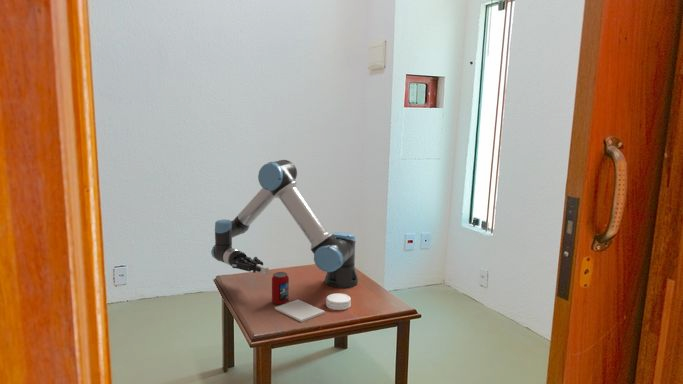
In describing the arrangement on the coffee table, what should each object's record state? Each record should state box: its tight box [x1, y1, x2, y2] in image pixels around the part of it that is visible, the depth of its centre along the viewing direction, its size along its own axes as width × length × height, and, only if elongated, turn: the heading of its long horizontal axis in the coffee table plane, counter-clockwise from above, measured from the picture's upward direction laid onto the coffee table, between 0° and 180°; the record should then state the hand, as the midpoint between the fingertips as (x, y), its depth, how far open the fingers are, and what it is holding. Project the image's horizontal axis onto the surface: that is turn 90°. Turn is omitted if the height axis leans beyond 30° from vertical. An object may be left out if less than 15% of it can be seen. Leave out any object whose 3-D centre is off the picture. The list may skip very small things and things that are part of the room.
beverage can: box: [271, 271, 290, 306], centre depth 197 cm, size 7×7×12 cm
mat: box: [274, 299, 326, 323], centre depth 190 cm, size 16×12×1 cm
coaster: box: [325, 293, 352, 311], centre depth 196 cm, size 10×10×4 cm
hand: (266, 271), depth 202 cm, fingers closed
